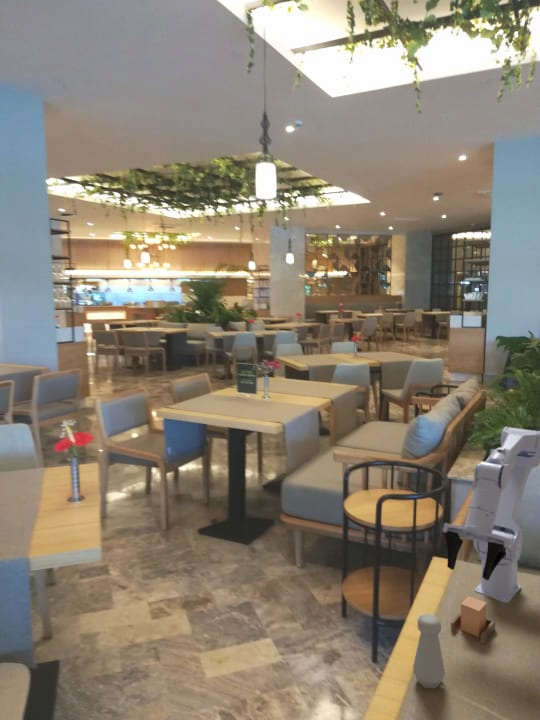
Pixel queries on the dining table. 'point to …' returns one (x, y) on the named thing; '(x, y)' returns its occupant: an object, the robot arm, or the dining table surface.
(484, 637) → the box
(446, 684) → the dining table surface
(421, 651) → the salt shaker
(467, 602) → the block
